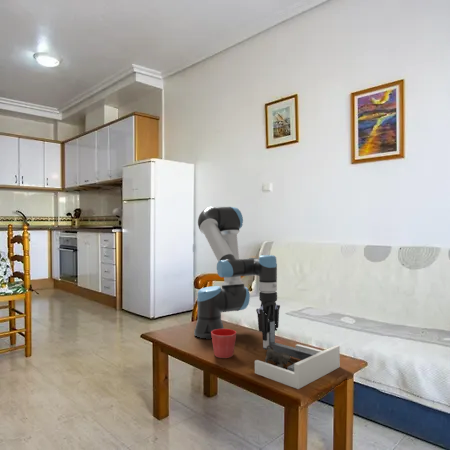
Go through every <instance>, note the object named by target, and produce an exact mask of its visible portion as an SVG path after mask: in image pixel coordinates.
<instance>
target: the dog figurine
mask: <svg viewBox="0 0 450 450" xmlns="http://www.w3.org/2000/svg"><path fill="white" fill-rule="evenodd" d="M269 347H270V348H271V349H269ZM291 358H292V357H291V356H289V355H288V354H287V353H278V352H275V351H274V350H273V348H272V347H271V346H269V345H268V346H267V350H266V354H265V358H264V362H265V363H268V364H269V362H271V361H272V362H273V363H274V364H276V366H277V367H280V368H284V365H288V364H289V363H290V365H293V364H295V363H296V362H294V361H292V359H291Z"/></svg>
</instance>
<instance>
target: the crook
mask: <svg viewBox="0 0 450 450" xmlns="http://www.w3.org/2000/svg"><path fill="white" fill-rule="evenodd" d="M275 325H276V324H275V321H272V320H269V321H268V333H269V346H271V347H272V348H273V350H274V351H275V352H278V353H287V354H288V355H289V356H290V357H291V358H295V359H297V360H298V359H299V360H300V361H301V360H304V359H306V358H308V357H310V356H313V355H315V354H317V353H313V352H309V351H305V350H302V349H298V348H296V347H294V346H289V345H286V344H282V343H278V342H276V331H275ZM262 349H263V350H266V351H267V348H264V347H263V346H262ZM269 349H271V348H270V347H269ZM287 370H290V371H293V372H294V364H293V365H292V364H290V365H288V366H287Z"/></svg>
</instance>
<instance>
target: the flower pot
mask: <svg viewBox="0 0 450 450" xmlns="http://www.w3.org/2000/svg"><path fill="white" fill-rule="evenodd" d="M211 336H212V339H211V341H212V349H213V353H214V356H215V357H216V358H219V359H227V358H231V357H233V355H234V351H235V345H236V341H237V340H236V339H237V331H236V330H234V329H232V328H224V329H216V330H213V331H212V332H211Z"/></svg>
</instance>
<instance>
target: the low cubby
mask: <svg viewBox="0 0 450 450" xmlns="http://www.w3.org/2000/svg"><path fill="white" fill-rule="evenodd" d="M295 348H298V349H302V350H305V351H309V352H313V353H317V354H315V355H313V356H310V357H308V358H306V359H304V360H301V359H300V361H297V362H294V363H295V364H294V372H293V371H290V370H287V369H286V368H284V367H283V368H280V367H278V366H277V365H274V364H271V363H269V362H268V363H266V362H265V361H262V360H259V359H256V360H254V374H256V375H258V376H262V377H264V378H267V379H269V380H272V381H275V382H278V383H279V384H282V385H285V386H288V387H291V388H294V389H297V390H300V389H301V388H303V387H305V386H307V385H308V384H310V383H313V382H315V381H316V380H318V379H320V378H322V377H324V376H326V375H327V374H330V373H332V372H333V371H336V370H337V369H339V368H340V363H341V362H340V361H341V359H340V358H341V356H340V352H341V351H340V349H341V347H340V345H337V344H335V345H332V346H331V347H329V348H327V349H324V350H321V349H318V348H314V347H310V346H307V345H304V344H303V345H302V344H300V343H299V344H295Z"/></svg>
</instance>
